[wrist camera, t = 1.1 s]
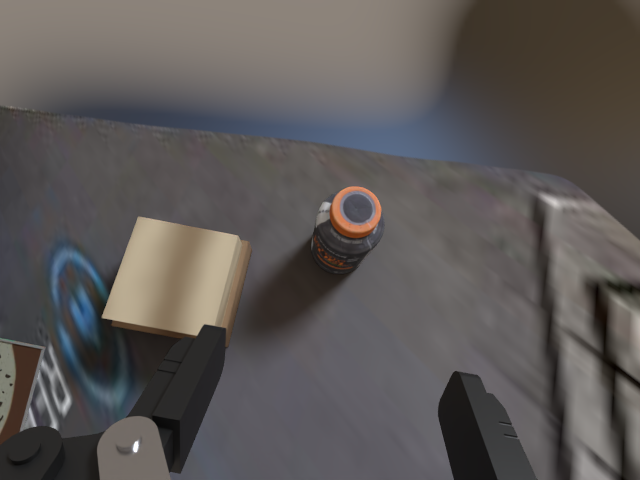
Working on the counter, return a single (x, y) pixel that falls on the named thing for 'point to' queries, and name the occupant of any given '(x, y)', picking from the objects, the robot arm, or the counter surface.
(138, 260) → the tower base
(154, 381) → the robot arm
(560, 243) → the counter surface
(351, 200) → the pill bottle
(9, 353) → the food container
